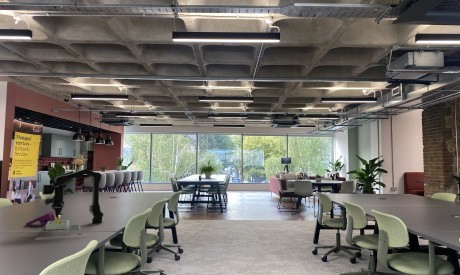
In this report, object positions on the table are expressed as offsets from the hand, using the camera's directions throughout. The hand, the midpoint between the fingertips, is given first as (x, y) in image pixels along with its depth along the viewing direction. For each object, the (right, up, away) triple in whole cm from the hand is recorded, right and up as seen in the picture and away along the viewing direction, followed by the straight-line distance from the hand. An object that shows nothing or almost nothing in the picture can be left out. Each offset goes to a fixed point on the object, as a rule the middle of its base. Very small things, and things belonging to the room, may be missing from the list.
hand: (57, 216), depth 226 cm
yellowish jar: (0, -9, -1) cm, 9 cm away
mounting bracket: (-22, -11, +14) cm, 28 cm away
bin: (0, -9, -1) cm, 9 cm away
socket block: (+13, -9, -3) cm, 16 cm away
